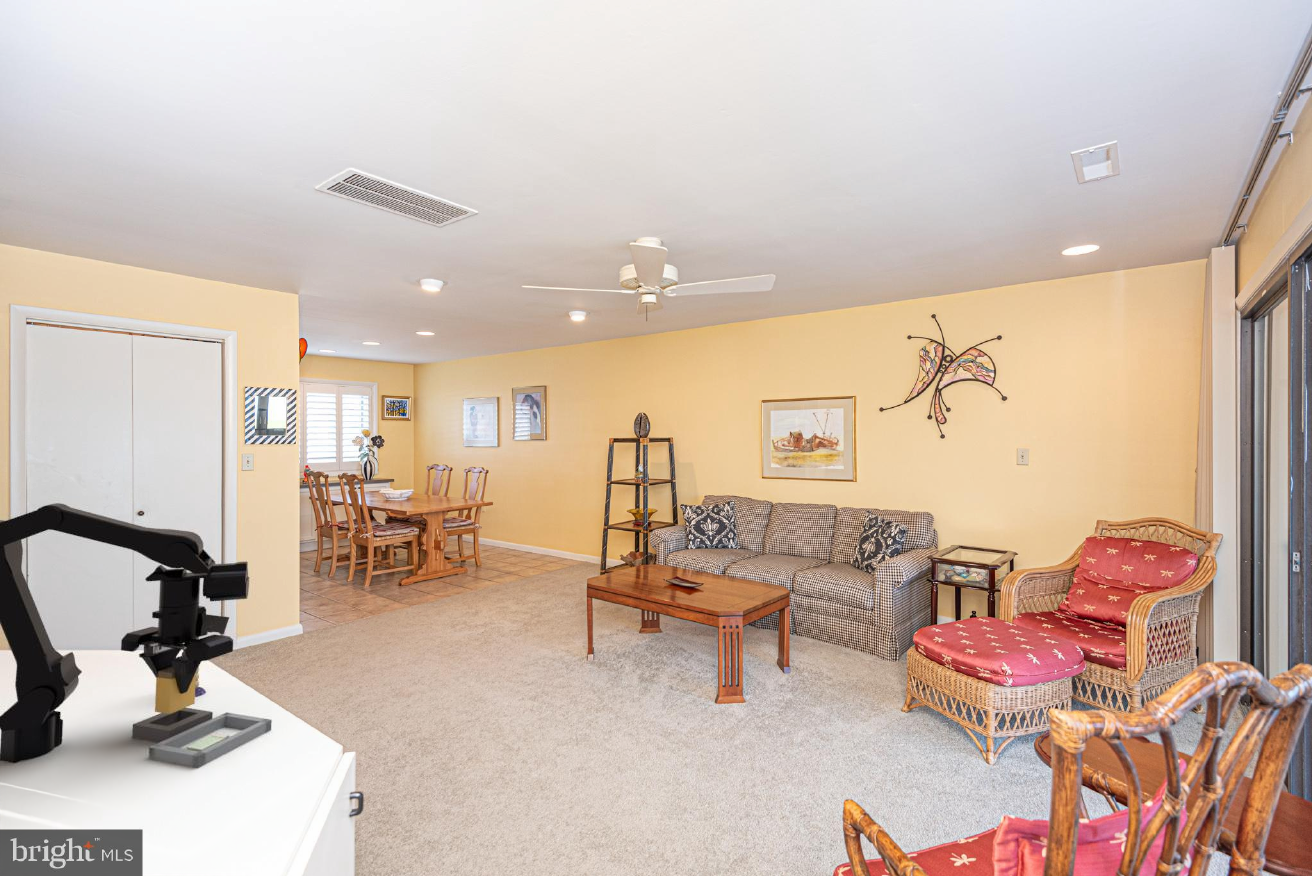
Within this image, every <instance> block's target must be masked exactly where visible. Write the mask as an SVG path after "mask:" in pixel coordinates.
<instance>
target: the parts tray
mask: <svg viewBox="0 0 1312 876" xmlns="http://www.w3.org/2000/svg"><path fill="white" fill-rule="evenodd" d="M272 722H273V720H272V719H271V718H270V719H269V718H264V717H257V716H252V715H246V714H239V713H233V712H224V713H222V714H220V715H218V716H216V717H212V719H211V720H209V721H206V722H204V723H202V724H200V725H197V726H195V727H193V728H191V729H189V730H186V731H184V732H182V733H180V734H177V735H175V736H173V737H171V738H169V739H166V740H164V741H162V742H160V743H155V744H153V745H151V746H149V747H148V760H152V761H153V760H154V761H159V762H163V763H168V764H175V765H180V766H186V767H191V768H194V769H195V768H196V769H199V768H201V767H203V766H205V765H207V764H209V763H211V762H212V761H214V760H217V759H218V758H220V757H222V756H224V755H226V754H228V753H230V752H232V751H234V750H235V749H238V748H239V747H241V746H243V745H246V744H248V743H249V742H251V741H252V740H254V739H257V738H258V737H261V736H262V735H264V734H266V733H268V732H270V731H271V730H272ZM225 727H228V728H234V729H239V730H240V731H239V732H237V733H235V734H233V735H229V737H228V738H226V739H224V740H222V741H220V742H218V743H216V744H214V745H212V746H210V747H208V748H206V749H204V750H202V751H200V752H198V751H193V750H187V748H182V747H184V746H186V745H189V744H190V743H194V742H196V741H197V740H200V739H201V738H204V737H206V736H208V735H211V734H212V733H214V732H216V731H218V730H221V729H222V728H225Z"/></svg>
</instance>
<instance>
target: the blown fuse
mask: <svg viewBox="0 0 1312 876" xmlns="http://www.w3.org/2000/svg"><path fill="white" fill-rule="evenodd" d="M195 680H196V673H195V675H194V677H193V680H192V682H191V684H190V686H189V689H188V691H187V692H186V693H183V694H180V692H179V689H178V687H177V682H176V678H175V674H174V670H173V666H172V667H169V668H166V669H163V670H160V671H158V677H155V681H156V682H155V699H154V700H155V702H154V704H155V705H154V712H155V713H159V714H160V713H166V714H171V713H173V712H176V711H178V710H181V709H183V708H185V707H186V708H189V707H191V706H192V705H195V702H196V701H195V699H196V697H195Z"/></svg>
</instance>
